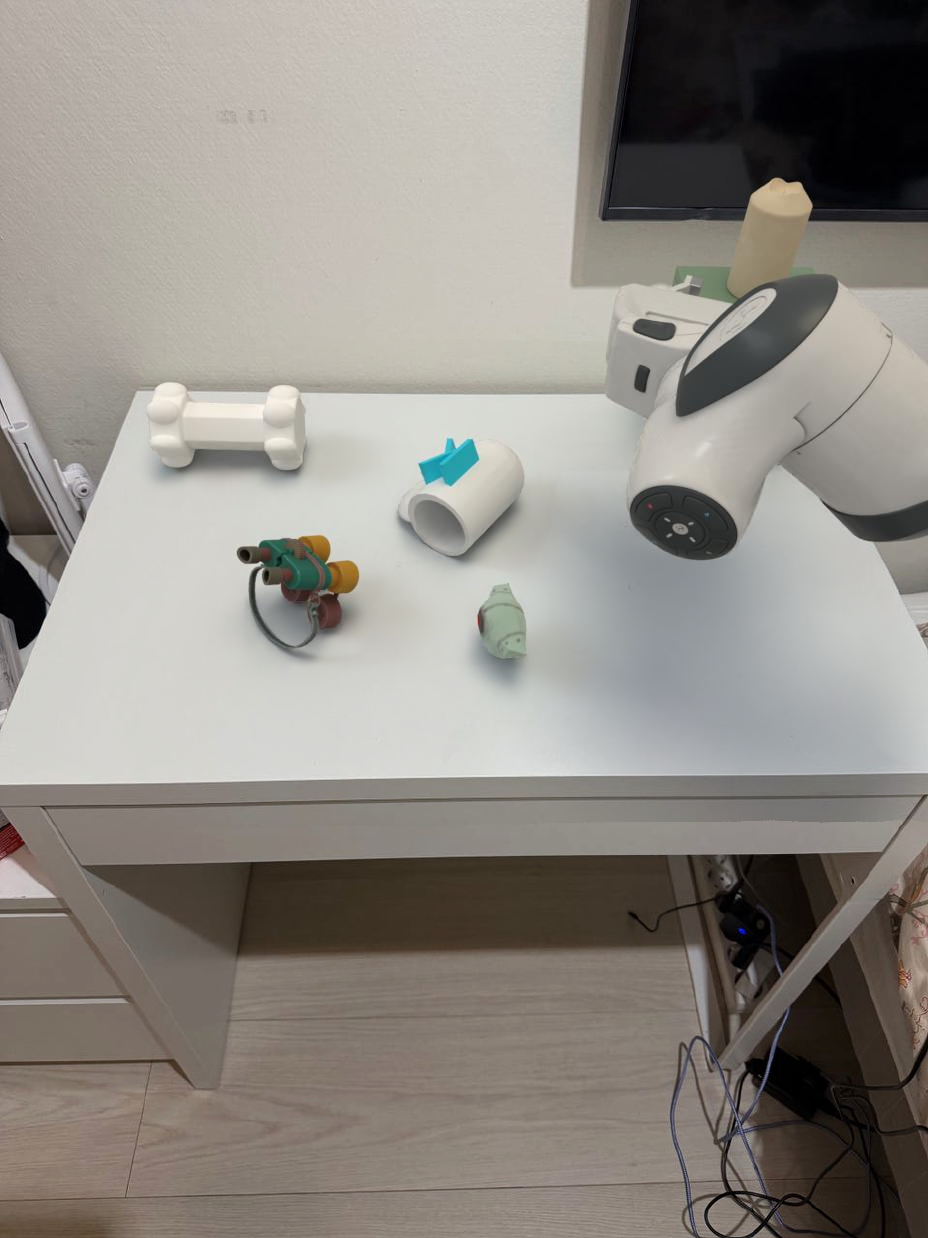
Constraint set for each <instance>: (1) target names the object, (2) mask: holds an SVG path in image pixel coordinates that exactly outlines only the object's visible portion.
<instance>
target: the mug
mask: <svg viewBox="0 0 928 1238" xmlns="http://www.w3.org/2000/svg"><path fill="white" fill-rule="evenodd" d="M418 467H419V470H420V472H421V476H422V478H423V480H421V481H420V482H418V483H416V484H415V485H414V486H413V487H411V488H410V489H409V490H408V491H407V492H406V493H404V495H403V496H402V497H401V500H400V502H399V503H398V508H397V514H398V515H399V517H400V518H401V519H402V520H404V521H405V522H407V523H410V525H411V526H412V528H413V529H414V531H415V533H416V534H417V535H418V536H419V538H420V539H421V540H422V541H423V542H424V543H425V544H426V545H427V546H428V547H430V548H431V549H433V550H434V551H436V552H438V553H440V554H442V555H445V556H448V557H458V556H461V555H463V554H465V553H466V552H467V551H468V550H469V549H470V548H471V547H472V546H473V544H474V543H475V542H477V540H479V538H480V537H481V536H482V535H483V534H484V533H486V531H487V530H489V528H490V527H491V526H493V524H494V523H495V522H496V521H497V520H498V519H499V518H500V517H501V516H502V514H504V512H506V510H508V508H510V507H511V506H512V505H513V503H514V502H515V501H516V500H517V499H518V497H519V496H520V495H521V494H522V490H523V488H524V484H525V470H524V467H523V464H522V461H521V460H520V458H519V456H518V454H516V453H515V451H514V450H513V449H512V448H511V447H510V446H508V445H507V444H505V443H502V442H501V441H498V440H494V439H480V440H477V441H474V439H473V438H467V439H465V441H464V442H462V443H461V444H460V445H459V446H458V447H456V444H455V441H454V439H453V438H451V437H447V438H446V442H445V448H444V452H442V453H440V454H439V455H435V456H432V457H431V458H428V459H425V460H423V461H421V462H418Z"/></svg>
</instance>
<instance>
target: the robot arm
mask: <svg viewBox="0 0 928 1238" xmlns="http://www.w3.org/2000/svg"><path fill="white" fill-rule="evenodd" d="M703 281H704V279H703V278H698V277H694V276H690V275H687V276H686V278H685V281H684V283H681V284H678V285H676V286H673V287H672V286H671V287H668V288H666V289H664V288H660V287H655V286H650V285H645V284H641V283H635V282H634V283H628V284H625V285H622V286H620V287H619V288H618V291H617V293H616V296H615V299H614V305H613V308H612V309H613V310H612V315H611V320H610V325H609V332H608V337H607V343H606V350H605V351H606V352H605V362H606V372H605V373H606V374H605V384H604V387H605V389H604V390H605V392H604V395H605V397H606V398H607V399H608V400H610V401H611V402H613V403H615V404H617V405H619V406H620V407H623V408H626V409H628V410H629V411H631V412H633V413H635V414H637V415H639V416H641V417H643V418H644V419H646V422H645V424H644V426H643V428H642V430H641V434H640V436H639V439H638V442H637V445H636V448H635V452H634V455H633V458H632V462H631V466H630V471H629V474H628V480H627V488H626V509H627V513H628V517H629V520H630V522H631V524H632V525H633V527H634V529H635V530H636V531H637V532H638V533H639V534H641V536H643V537H644V538H645V539H646V540H647V541H649V542H650V543H652V545H654V546H655V547H657V548H659V549H660V550H662V551H663V552H665V553H668V554H669V555H672V556H674V557H676V558H681V559H684V560H688V561H689V560H690V561H712V560H717V559H720V558H723V557H725V556H727V555H729V554H731V553H732V552H733V551H734V550H735V549H736V548H737V546H739V543H741V541H742V539H743V537H744V536H745V534H746V532H747V530H748V528H749V526H750V524H751V521H752V519H753V517H754V514H755V512H756V509H757V507H758V503H759V501H760V499H761V495H762V491H763V489H764V485H765V482H766V478H767V476H768V475H769V474H770V472H771V471H772V470H773V469H774V468H775V466H776V465H779V466H780V467H782V469H784V470H785V471H786V472H788V473H789V474H790V475H791V476H793V478H795V479H796V480H797V481H798V482H799V483H801V484H802V485H803V486H804V487H806V489H808V490H809V491H810V492H811V493H813V494H814V495H815V496H817V497H818V499H819V501H820V502H821V503H822V504H823V505H824V507H825V508H826V509H827V510H829V511H830V513H831V514H832V515H833V516H834V517H835V518H836V519H837V520H838V521H839V522H840V523H841V524H842V525H843V526H844V527H845V528H846V529H847V530H848V531H849V532H850V534H851V535H853V536H854V537H856V538H858V539H860V540H862V541H865V542H870V543H894V542H896V543H897V542H906V541H911V540H917V539H920V538H921V539H922V538H925V537H928V363H927V361H926V360H924V359H923V358H922V357H921V356H920V354H918V353H917V352H915V350H914V349H913V348H911V347H910V346H909V345H908V344H907V343H906V342H905V341H904V340H903V339H901V338H900V337H899V336H898V335H897V334H896V333H895V332H894V331H893V329H892V328H891V327H890V325H889V324H888V323H886V322H885V321H884V320H883V319H882V318H881V317H880V316H879V315H877V313H875V312H874V311H873V310H872V309H871V308H870V307H869V306H868V305H867V304H866V303H865V302H864V301H862V300H861V299H860V298H859V297H858V295H855V293H854V292H853V291H851V290H850V289H849V288H848V287H847V286H845V285H844V284H843V283H842V282H841V281H839V280H838V278H837V277H836V276H835V275H832V274H826V273H815V274H806V275H799V276H793V277H789V278H784V279H780V280H776V281H772V282H768V283H765V284H762V285H760V286H758V287H756V288H754V289H752V290H751V291H749V292H748V293H746V294H745V295H744V296H742V297H741V298H740V299H739V300H737V301H736V302H735V303H734V304H732V303H727V302H722V301H717V300H712V299H708V298H703V297H699V296H700V292H701V287H702V285H703Z"/></svg>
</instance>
